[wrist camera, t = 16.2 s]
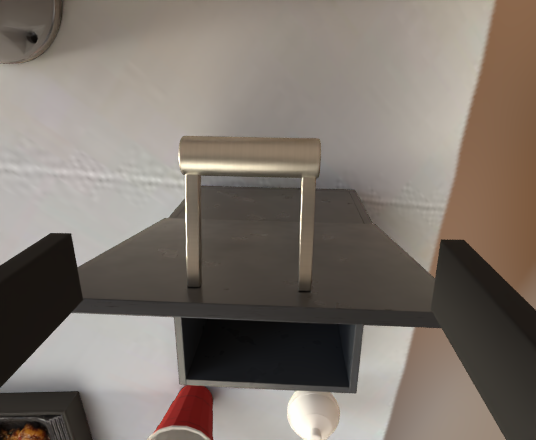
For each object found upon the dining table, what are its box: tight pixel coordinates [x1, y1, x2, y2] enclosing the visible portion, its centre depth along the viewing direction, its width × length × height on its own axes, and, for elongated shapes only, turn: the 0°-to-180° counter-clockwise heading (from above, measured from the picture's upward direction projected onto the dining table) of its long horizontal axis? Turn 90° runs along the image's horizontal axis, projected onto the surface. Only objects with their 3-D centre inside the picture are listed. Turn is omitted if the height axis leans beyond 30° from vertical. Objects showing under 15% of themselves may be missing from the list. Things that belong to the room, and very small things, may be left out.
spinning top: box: [287, 391, 340, 440], centre depth 60 cm, size 8×8×12 cm
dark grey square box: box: [169, 186, 372, 393], centre depth 53 cm, size 22×22×14 cm
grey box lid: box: [71, 136, 441, 328], centre depth 30 cm, size 23×22×9 cm
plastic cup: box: [147, 385, 213, 440], centre depth 63 cm, size 11×11×12 cm
